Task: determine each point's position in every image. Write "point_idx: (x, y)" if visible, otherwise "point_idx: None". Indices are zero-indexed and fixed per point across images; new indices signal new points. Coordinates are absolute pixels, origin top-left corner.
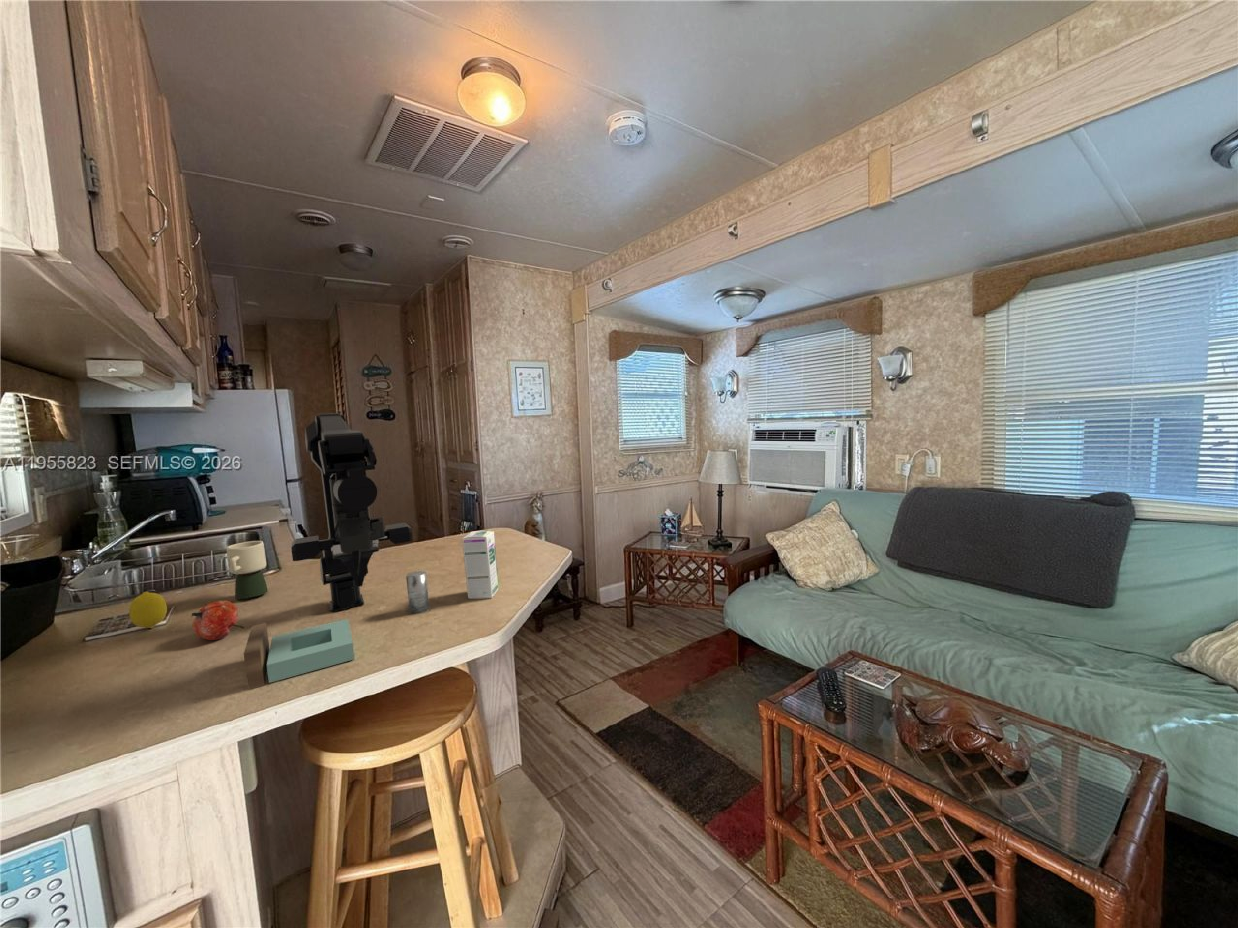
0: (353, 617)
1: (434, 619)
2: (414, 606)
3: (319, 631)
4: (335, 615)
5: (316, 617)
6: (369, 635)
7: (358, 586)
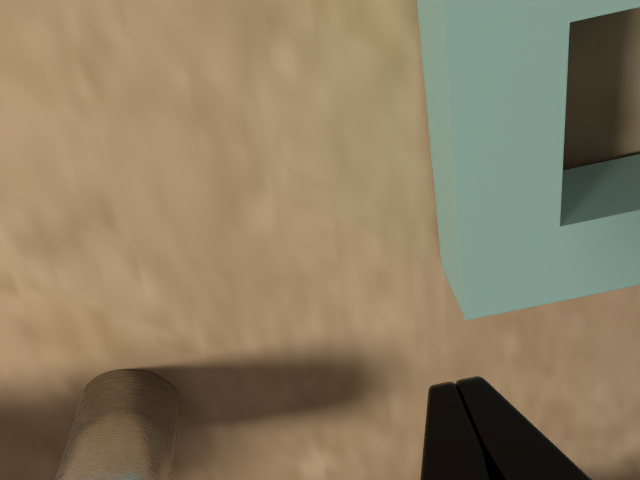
0: None
1: (10, 276)
2: (137, 402)
3: (619, 212)
4: None
5: None
6: (345, 216)
7: (468, 378)
